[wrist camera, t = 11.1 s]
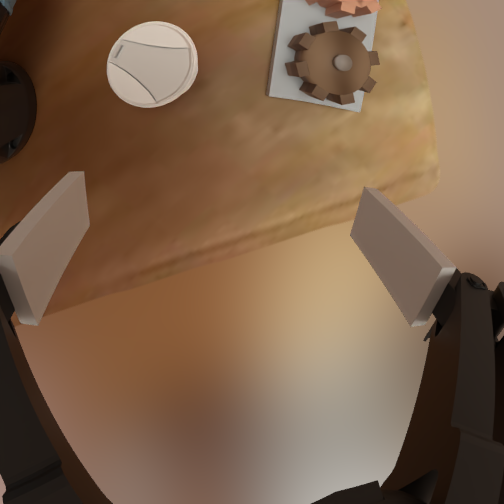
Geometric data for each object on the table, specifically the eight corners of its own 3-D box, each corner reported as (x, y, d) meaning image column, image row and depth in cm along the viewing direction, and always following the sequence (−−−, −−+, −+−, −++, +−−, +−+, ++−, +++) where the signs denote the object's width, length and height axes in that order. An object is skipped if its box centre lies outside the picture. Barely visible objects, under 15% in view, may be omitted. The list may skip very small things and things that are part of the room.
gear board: (266, 94, 35) (277, 100, 29) (288, -56, 23) (303, -75, 18) (353, 109, 37) (378, 120, 32) (375, -31, 25) (402, -41, 20)
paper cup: (127, 79, 32) (86, 89, 20) (158, 25, 28) (131, 6, 17) (182, 104, 35) (168, 125, 23) (214, 52, 31) (217, 44, 20)
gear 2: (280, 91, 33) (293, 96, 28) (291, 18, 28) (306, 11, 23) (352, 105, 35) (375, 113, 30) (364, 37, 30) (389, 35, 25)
